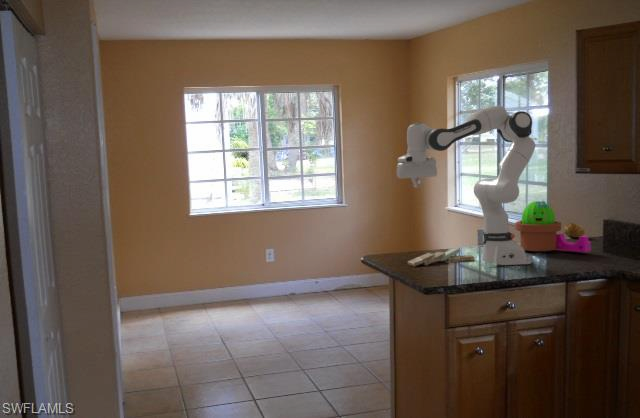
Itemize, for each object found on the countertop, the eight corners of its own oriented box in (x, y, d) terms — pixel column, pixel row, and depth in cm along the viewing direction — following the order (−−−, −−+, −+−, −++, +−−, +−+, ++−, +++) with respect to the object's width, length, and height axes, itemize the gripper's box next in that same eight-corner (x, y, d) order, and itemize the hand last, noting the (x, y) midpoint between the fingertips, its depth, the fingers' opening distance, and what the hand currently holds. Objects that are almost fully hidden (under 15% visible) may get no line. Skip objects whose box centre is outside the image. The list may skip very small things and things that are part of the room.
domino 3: (446, 259, 314) (471, 258, 315) (449, 261, 309) (474, 260, 310) (446, 256, 314) (471, 254, 315) (449, 258, 309) (474, 256, 310)
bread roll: (560, 234, 383) (560, 221, 382) (576, 234, 384) (576, 220, 383) (570, 237, 370) (570, 223, 369) (587, 237, 371) (587, 222, 370)
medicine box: (493, 244, 356) (493, 228, 355) (492, 245, 352) (492, 229, 351) (478, 244, 359) (478, 228, 358) (477, 245, 355) (477, 229, 354)
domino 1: (419, 264, 308) (438, 254, 313) (426, 265, 303) (445, 256, 309) (418, 260, 307) (438, 251, 313) (425, 262, 303) (445, 252, 308)
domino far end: (408, 264, 306) (428, 255, 310) (414, 266, 301) (435, 257, 306) (407, 261, 305) (428, 252, 310) (413, 263, 301) (434, 254, 306)
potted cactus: (515, 245, 351) (515, 198, 348) (559, 245, 345) (559, 197, 342) (516, 252, 330) (515, 202, 327) (562, 252, 324) (562, 201, 321)
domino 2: (442, 263, 313) (464, 261, 317) (448, 265, 308) (470, 262, 312) (442, 260, 313) (464, 258, 317) (448, 262, 308) (470, 259, 312)
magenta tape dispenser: (590, 250, 328) (590, 235, 328) (584, 252, 324) (584, 237, 323) (562, 247, 340) (562, 233, 339) (556, 249, 336) (556, 234, 335)
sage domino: (440, 257, 308) (459, 248, 314) (434, 257, 313) (452, 248, 318) (441, 261, 309) (460, 251, 314) (435, 260, 313) (453, 251, 318)
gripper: (432, 156, 318) (432, 185, 319) (394, 158, 310) (395, 188, 312) (439, 156, 312) (439, 186, 314) (401, 158, 304) (401, 188, 306)
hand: (417, 187), depth 313 cm, fingers closed
